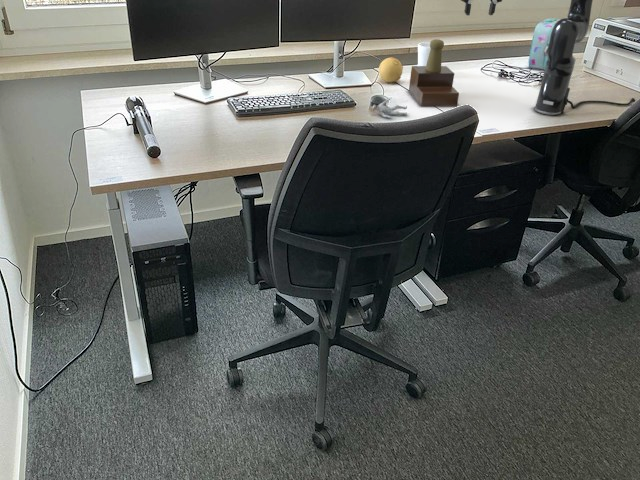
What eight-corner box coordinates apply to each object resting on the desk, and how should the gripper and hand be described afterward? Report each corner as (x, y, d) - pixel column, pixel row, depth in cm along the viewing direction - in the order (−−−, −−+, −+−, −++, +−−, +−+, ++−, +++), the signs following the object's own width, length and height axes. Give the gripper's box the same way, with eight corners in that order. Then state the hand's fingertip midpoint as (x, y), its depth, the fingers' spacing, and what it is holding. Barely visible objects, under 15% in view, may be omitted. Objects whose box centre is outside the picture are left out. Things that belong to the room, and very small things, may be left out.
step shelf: (456, 106, 204) (461, 79, 199) (420, 106, 202) (424, 79, 197) (442, 91, 219) (446, 66, 213) (408, 91, 217) (411, 66, 212)
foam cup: (420, 71, 242) (424, 41, 235) (439, 75, 238) (444, 44, 231) (410, 75, 236) (414, 44, 229) (429, 80, 231) (434, 48, 224)
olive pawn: (443, 69, 209) (448, 39, 203) (437, 72, 205) (442, 42, 199) (429, 66, 212) (433, 37, 206) (422, 69, 208) (426, 40, 202)
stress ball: (390, 86, 221) (392, 62, 216) (372, 81, 227) (374, 56, 222) (406, 82, 227) (409, 58, 221) (388, 77, 233) (391, 53, 227)
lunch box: (546, 73, 246) (559, 24, 234) (523, 69, 250) (535, 20, 238) (560, 61, 265) (572, 15, 253) (538, 58, 269) (550, 12, 257)
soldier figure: (407, 121, 191) (377, 112, 187) (399, 126, 196) (370, 118, 191) (408, 101, 193) (378, 92, 189) (400, 107, 198) (371, 98, 193)
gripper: (502, -37, 188) (493, 13, 196) (463, -38, 186) (456, 13, 194) (511, -35, 181) (502, 16, 190) (471, -35, 180) (463, 17, 188)
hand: (478, 15), depth 192 cm, fingers open, 8 cm apart
